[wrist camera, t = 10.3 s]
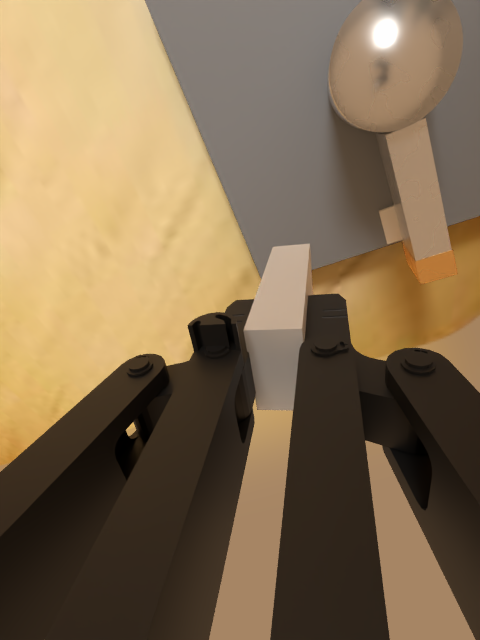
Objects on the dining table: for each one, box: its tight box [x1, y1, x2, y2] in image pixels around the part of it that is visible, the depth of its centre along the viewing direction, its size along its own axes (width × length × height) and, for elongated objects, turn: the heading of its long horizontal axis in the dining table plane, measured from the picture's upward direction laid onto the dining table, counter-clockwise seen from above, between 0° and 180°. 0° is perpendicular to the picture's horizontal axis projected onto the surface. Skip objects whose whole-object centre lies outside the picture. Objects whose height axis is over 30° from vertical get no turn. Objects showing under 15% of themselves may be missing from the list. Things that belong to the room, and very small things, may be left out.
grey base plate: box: [145, 0, 480, 279], centre depth 24 cm, size 22×24×2 cm
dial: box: [327, 0, 463, 284], centre depth 22 cm, size 15×6×6 cm, turn 24°
